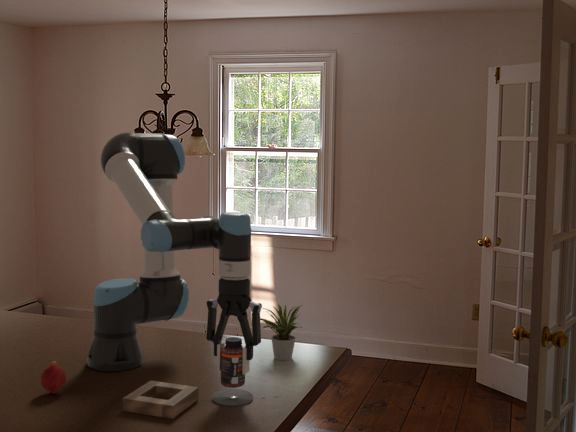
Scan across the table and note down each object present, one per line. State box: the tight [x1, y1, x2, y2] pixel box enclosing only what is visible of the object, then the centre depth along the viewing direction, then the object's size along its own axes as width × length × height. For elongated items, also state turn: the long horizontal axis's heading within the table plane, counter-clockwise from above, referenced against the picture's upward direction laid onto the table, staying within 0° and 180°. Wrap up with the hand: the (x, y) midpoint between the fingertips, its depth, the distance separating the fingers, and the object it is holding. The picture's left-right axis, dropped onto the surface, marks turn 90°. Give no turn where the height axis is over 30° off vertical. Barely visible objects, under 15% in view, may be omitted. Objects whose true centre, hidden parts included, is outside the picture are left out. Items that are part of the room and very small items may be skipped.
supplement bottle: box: [220, 336, 246, 389], centre depth 165 cm, size 6×6×11 cm
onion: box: [40, 361, 67, 394], centre depth 166 cm, size 6×6×8 cm
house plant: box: [260, 303, 304, 362], centre depth 200 cm, size 14×14×16 cm
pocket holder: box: [122, 380, 199, 420], centre depth 161 cm, size 13×13×3 cm
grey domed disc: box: [211, 388, 254, 407], centre depth 166 cm, size 10×10×1 cm
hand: (233, 370), depth 165 cm, fingers closed on supplement bottle, 6 cm apart
